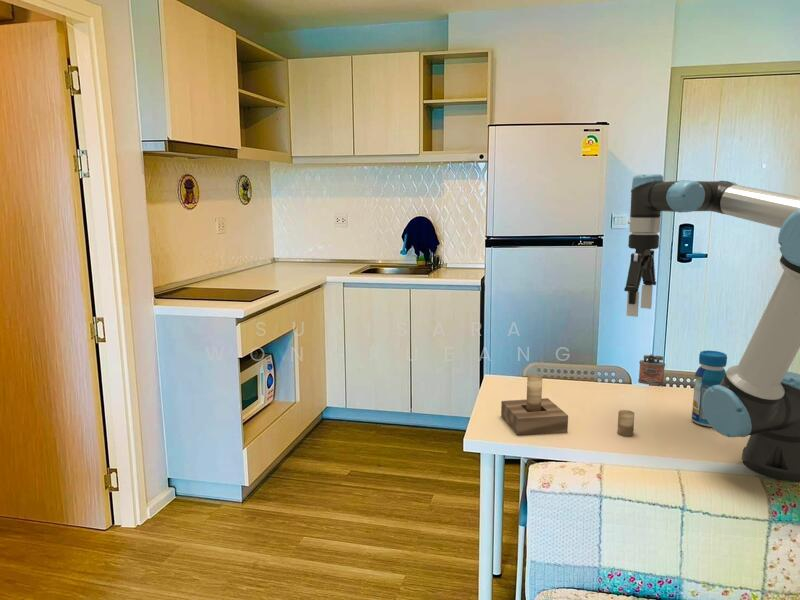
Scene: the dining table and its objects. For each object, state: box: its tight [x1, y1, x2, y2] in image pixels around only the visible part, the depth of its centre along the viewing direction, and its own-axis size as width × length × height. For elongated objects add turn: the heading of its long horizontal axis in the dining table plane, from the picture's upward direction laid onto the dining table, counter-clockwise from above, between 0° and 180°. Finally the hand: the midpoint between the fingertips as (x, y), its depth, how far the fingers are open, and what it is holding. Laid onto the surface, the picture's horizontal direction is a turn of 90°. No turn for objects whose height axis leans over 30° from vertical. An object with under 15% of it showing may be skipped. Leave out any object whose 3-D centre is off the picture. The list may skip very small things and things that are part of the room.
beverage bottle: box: [691, 350, 728, 428], centre depth 164 cm, size 8×8×20 cm
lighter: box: [637, 353, 666, 387], centre depth 200 cm, size 8×3×10 cm, turn 62°
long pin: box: [526, 374, 543, 412], centre depth 164 cm, size 4×4×14 cm
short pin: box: [616, 409, 635, 438], centre depth 158 cm, size 4×4×6 cm
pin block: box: [500, 397, 569, 437], centre depth 164 cm, size 14×14×5 cm
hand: (639, 312), depth 160 cm, fingers open, 13 cm apart
